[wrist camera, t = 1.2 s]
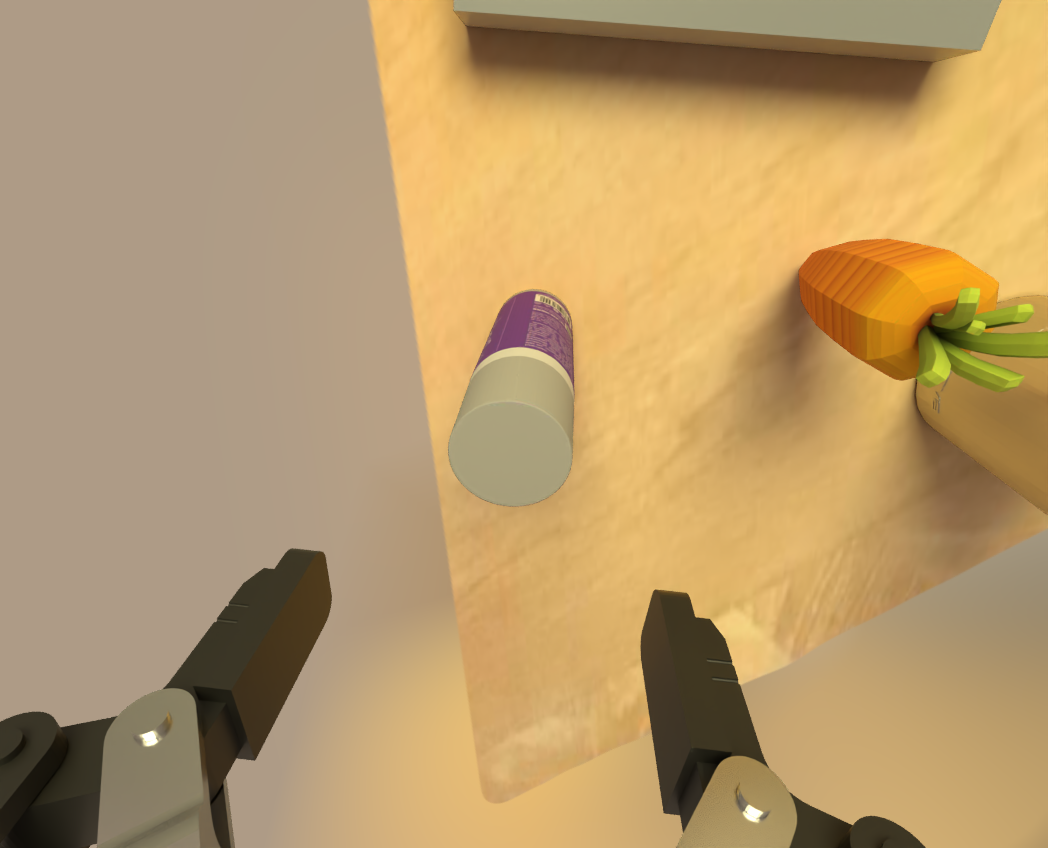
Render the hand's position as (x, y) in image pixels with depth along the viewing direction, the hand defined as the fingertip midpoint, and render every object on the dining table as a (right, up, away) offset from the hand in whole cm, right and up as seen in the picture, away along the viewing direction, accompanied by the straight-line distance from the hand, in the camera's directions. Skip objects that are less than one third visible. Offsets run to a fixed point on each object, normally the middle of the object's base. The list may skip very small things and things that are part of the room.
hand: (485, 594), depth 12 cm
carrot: (+17, +13, +16) cm, 27 cm away
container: (+2, +10, +19) cm, 22 cm away
